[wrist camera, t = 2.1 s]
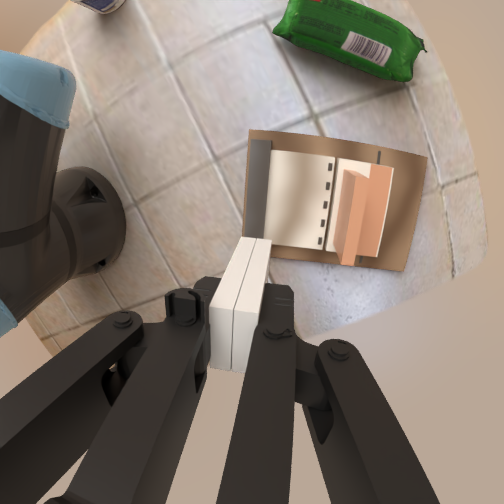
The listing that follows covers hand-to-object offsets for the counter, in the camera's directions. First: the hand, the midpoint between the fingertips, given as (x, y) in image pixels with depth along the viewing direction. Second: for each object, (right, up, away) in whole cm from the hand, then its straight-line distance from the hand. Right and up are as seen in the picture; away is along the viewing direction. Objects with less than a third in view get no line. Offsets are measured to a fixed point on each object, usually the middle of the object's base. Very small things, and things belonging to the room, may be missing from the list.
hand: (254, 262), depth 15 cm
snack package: (+10, +24, +9) cm, 28 cm away
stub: (+11, +5, +15) cm, 19 cm away
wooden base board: (+9, +6, +16) cm, 20 cm away
